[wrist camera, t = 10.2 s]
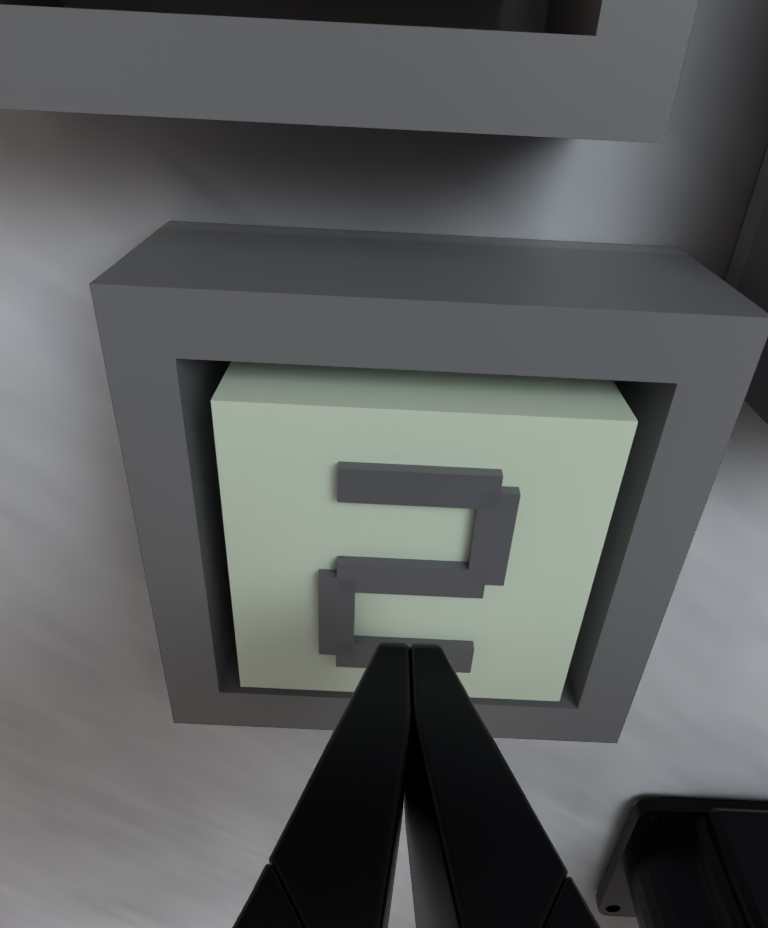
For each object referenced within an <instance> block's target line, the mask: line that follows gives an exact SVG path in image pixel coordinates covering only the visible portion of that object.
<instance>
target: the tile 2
mask: <svg viewBox="0 0 768 928" xmlns="http://www.w3.org/2000/svg"><path fill="white" fill-rule="evenodd" d="M211 409H212V419H213V428H214V438H215V447H216V457H217V466H218V476H219V486H220V495H221V505H222V514H223V524H224V533H225V543H226V552H227V562H228V572H229V581H230V591H231V600H232V610H233V619H234V629H235V639H236V648H237V658H238V667H239V677H240V686H241V687H259V688H280V689H302V690H324V691H345V692H354V691H355V689H356V687H357V685H358V683H359V681H360V679H361V677H362V675H363V673H364V671H365V669H366V667H367V665H368V663H369V661H370V659H371V657H372V655H373V653H374V651H375V649H376V647H377V646H378V645H379V643H381V642H404V643H407V644H408V646H409V649H410V646H411V645H412V644H413V643H426V644H438V645H439V646H440V647H441V648H442V649H443V651H444V652H445V654H446V656H447V658H448V659H449V661H450V663H451V665H452V667H453V668H454V670H455V672H456V674H457V675H458V677H459V679H460V681H461V683H462V684H463V686H464V688H465V690H466V691H467V693H468V695H469V697H475V698H497V699H518V700H540V701H560V698H561V694H562V691H563V687H564V683H565V680H566V676H567V673H568V669H569V666H570V662H571V659H572V655H573V651H574V648H575V644H576V641H577V637H578V634H579V630H580V627H581V623H582V620H583V616H584V612H585V609H586V605H587V602H588V598H589V595H590V591H591V588H592V584H593V581H594V577H595V573H596V570H597V566H598V563H599V559H600V556H601V552H602V549H603V545H604V541H605V538H606V534H607V531H608V527H609V524H610V520H611V517H612V513H613V510H614V506H615V502H616V499H617V495H618V492H619V488H620V485H621V481H622V478H623V474H624V471H625V467H626V463H627V460H628V456H629V453H630V449H631V446H632V442H633V439H634V435H635V431H636V428H637V424H638V420H637V419H636V417H635V415H634V414H633V412H632V411H631V409H630V407H629V406H628V404H627V403H626V401H625V399H624V398H623V396H622V395H621V393H620V391H619V390H618V388H617V387H616V385H615V383H614V382H613V380H599V379H578V378H558V377H538V376H518V375H498V374H477V373H457V372H437V371H417V370H397V369H377V368H356V367H336V366H316V365H296V364H276V363H255V362H235V361H231V363H230V365H229V366H228V368H227V370H226V372H225V374H224V376H223V378H222V380H221V382H220V384H219V385H218V387H217V389H216V391H215V393H214V395H213V397H212V399H211Z"/></svg>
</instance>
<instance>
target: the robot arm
mask: <svg viewBox="0 0 768 928" xmlns="http://www.w3.org/2000/svg"><path fill="white" fill-rule="evenodd" d="M403 804H404V809H405V823H406V834H407V844H408V853H409V863H410V873H411V883H412V892H413V902H414V912H415V922H416V928H600V926H599V925H598V923H597V921H596V919H595V918H594V916H593V914H592V913H591V911H590V909H589V908H588V906H587V904H586V902H585V901H584V899H583V897H582V895H581V893H580V892H579V890H578V888H577V886H576V885H575V883H574V881H573V879H572V878H571V877H566V876H567V873H568V872H567V869H566V867H565V866H564V864H563V862H562V860H561V858H560V857H559V855H558V853H557V851H556V850H555V848H554V846H553V844H552V842H551V841H550V839H549V837H548V835H547V834H546V832H545V830H544V828H543V826H542V825H541V823H540V821H539V819H538V818H537V816H536V814H535V812H534V810H533V809H532V807H531V805H530V803H529V802H528V800H527V798H526V796H525V794H524V793H523V791H522V789H521V787H520V786H519V784H518V782H517V780H516V778H515V777H514V775H513V773H512V771H511V770H510V768H509V766H508V764H507V763H506V761H505V759H504V757H503V755H502V754H501V752H500V750H499V748H498V747H497V745H496V743H495V741H494V739H493V738H492V736H491V734H490V732H489V731H488V729H487V727H486V725H485V723H484V722H483V720H482V718H481V716H480V715H479V713H478V711H477V709H476V707H475V706H474V704H473V702H472V700H471V699H470V697H469V695H468V693H467V691H466V690H465V688H464V686H463V684H462V683H461V681H460V679H459V677H458V675H457V674H456V672H455V670H454V668H453V667H452V665H451V663H450V661H449V659H448V658H447V656H446V654H445V652H444V651H443V649H442V648H441V647H440V646H439V645H438V644H426V643H413V644H412V645H411V646H410V649H409V646H408V644H407V643H404V642H381V643H379V645H378V646H377V647H376V649H375V651H374V653H373V655H372V657H371V659H370V661H369V663H368V665H367V667H366V669H365V671H364V673H363V675H362V677H361V679H360V681H359V683H358V685H357V687H356V689H355V691H354V693H353V695H352V697H351V699H350V701H349V702H348V704H347V706H346V708H345V710H344V712H343V714H342V716H341V718H340V720H339V722H338V724H337V726H336V728H335V730H334V732H333V734H332V736H331V738H330V740H329V742H328V744H327V746H326V748H325V750H324V752H323V754H322V756H321V758H320V759H319V761H318V763H317V765H316V767H315V769H314V771H313V773H312V775H311V777H310V779H309V781H308V783H307V785H306V787H305V789H304V791H303V793H302V795H301V797H300V799H299V801H298V803H297V805H296V807H295V809H294V811H293V813H292V815H291V817H290V818H289V820H288V822H287V824H286V826H285V828H284V830H283V832H282V834H281V836H280V838H279V840H278V842H277V844H276V846H275V848H274V850H273V852H272V854H271V856H270V858H269V864H267V865H265V867H264V869H263V871H262V873H261V875H260V877H259V879H258V881H257V883H256V884H255V886H254V888H253V890H252V892H251V894H250V896H249V898H248V900H247V902H246V904H245V905H244V907H243V909H242V911H241V913H240V914H239V916H238V918H237V920H236V922H235V924H234V925H233V927H232V928H388V923H389V915H390V908H391V900H392V893H393V885H394V877H395V870H396V862H397V854H398V847H399V839H400V831H401V823H402V813H403ZM596 902H597V906H598V910H599V912H600V913H601V914H604V915H609V916H629V917H637V921H638V924H639V928H768V803H757V802H735V801H713V800H691V799H669V798H647V799H644V800H641V801H639V802H637V803H636V804H635V806H634V807H633V810H632V812H631V814H630V817H629V819H628V822H627V824H626V826H625V829H624V831H623V833H622V836H621V838H620V840H619V843H618V845H617V847H616V850H615V852H614V854H613V857H612V859H611V861H610V864H609V866H608V868H607V871H606V873H605V875H604V878H603V880H602V882H601V885H600V887H599V889H598V892H597V894H596Z"/></svg>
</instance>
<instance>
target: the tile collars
mask: <svg viewBox="0 0 768 928" xmlns="http://www.w3.org/2000/svg"><path fill="white" fill-rule="evenodd" d="M698 1H699V0H0V109H16V110H35V111H55V112H74V113H93V114H112V115H131V116H151V117H170V118H189V119H208V120H228V121H247V122H266V123H285V124H305V125H324V126H343V127H362V128H381V129H401V130H420V131H439V132H458V133H478V134H497V135H516V136H535V137H555V138H574V139H593V140H612V141H631V142H651V143H664V140H665V136H666V132H667V128H668V124H669V120H670V116H671V112H672V108H673V103H674V99H675V95H676V91H677V87H678V83H679V79H680V75H681V71H682V66H683V62H684V58H685V54H686V50H687V46H688V42H689V38H690V34H691V29H692V25H693V21H694V17H695V13H696V9H697V5H698ZM90 289H91V294H92V299H93V305H94V310H95V315H96V320H97V325H98V331H99V336H100V341H101V346H102V351H103V357H104V362H105V367H106V372H107V377H108V383H109V388H110V393H111V398H112V403H113V408H114V414H115V419H116V424H117V429H118V434H119V440H120V445H121V450H122V455H123V460H124V466H125V471H126V476H127V481H128V486H129V492H130V497H131V502H132V507H133V512H134V518H135V523H136V528H137V533H138V538H139V544H140V549H141V554H142V559H143V564H144V570H145V575H146V580H147V585H148V590H149V596H150V601H151V606H152V611H153V616H154V621H155V627H156V632H157V637H158V642H159V647H160V653H161V658H162V663H163V668H164V673H165V679H166V684H167V689H168V694H169V699H170V705H171V710H172V715H173V720H174V723H189V724H211V725H232V726H254V727H276V728H298V729H320V730H335V728H336V726H337V724H338V722H339V720H340V718H341V716H342V714H343V712H344V710H345V708H346V706H347V704H348V702H349V701H350V699H351V697H352V695H353V693H354V692H345V691H324V690H302V689H280V688H259V687H241V686H240V677H239V667H238V658H237V648H236V639H235V629H234V619H233V610H232V600H231V591H230V581H229V572H228V562H227V552H226V543H225V533H224V524H223V514H222V505H221V495H220V486H219V476H218V466H217V457H216V447H215V438H214V428H213V419H212V409H211V399H212V397H213V395H214V393H215V391H216V389H217V387H218V385H219V384H220V382H221V380H222V378H223V376H224V374H225V372H226V370H227V368H228V366H229V365H230V363H231V361H235V362H255V363H276V364H296V365H316V366H336V367H356V368H377V369H397V370H417V371H437V372H457V373H477V374H498V375H518V376H538V377H558V378H578V379H599V380H613V382H614V383H615V385H616V387H617V388H618V390H619V391H620V393H621V395H622V396H623V398H624V399H625V401H626V403H627V404H628V406H629V407H630V409H631V411H632V412H633V414H634V415H635V417H636V419H637V420H638V424H637V428H636V431H635V435H634V439H633V442H632V446H631V449H630V453H629V456H628V460H627V463H626V467H625V471H624V474H623V478H622V481H621V485H620V488H619V492H618V495H617V499H616V502H615V506H614V510H613V513H612V517H611V520H610V524H609V527H608V531H607V534H606V538H605V541H604V545H603V549H602V552H601V556H600V559H599V563H598V566H597V570H596V573H595V577H594V581H593V584H592V588H591V591H590V595H589V598H588V602H587V605H586V609H585V612H584V616H583V620H582V623H581V627H580V630H579V634H578V637H577V641H576V644H575V648H574V651H573V655H572V659H571V662H570V666H569V669H568V673H567V676H566V680H565V683H564V687H563V691H562V694H561V698H560V701H540V700H518V699H497V698H475V697H470V699H471V700H472V702H473V704H474V706H475V707H476V709H477V711H478V713H479V715H480V716H481V718H482V720H483V722H484V723H485V725H486V727H487V729H488V731H489V732H490V734H491V736H492V737H494V738H516V739H538V740H559V741H581V742H603V743H617V742H618V739H619V736H620V734H621V731H622V728H623V725H624V723H625V720H626V717H627V715H628V712H629V709H630V707H631V704H632V701H633V699H634V696H635V693H636V690H637V688H638V685H639V682H640V680H641V677H642V674H643V672H644V669H645V666H646V663H647V661H648V658H649V655H650V653H651V650H652V647H653V645H654V642H655V639H656V636H657V634H658V631H659V628H660V626H661V623H662V620H663V618H664V615H665V612H666V609H667V607H668V604H669V601H670V599H671V596H672V593H673V591H674V588H675V585H676V583H677V580H678V577H679V574H680V572H681V569H682V566H683V564H684V561H685V558H686V556H687V553H688V550H689V547H690V545H691V542H692V539H693V537H694V534H695V531H696V529H697V526H698V523H699V520H700V518H701V515H702V512H703V510H704V507H705V504H706V502H707V499H708V496H709V493H710V491H711V488H712V485H713V483H714V480H715V477H716V475H717V472H718V469H719V466H720V464H721V461H722V458H723V456H724V453H725V450H726V448H727V445H728V442H729V440H730V437H731V434H732V431H733V429H734V426H735V423H736V421H737V418H738V415H739V413H740V410H741V407H742V404H743V402H744V400H745V401H746V402H747V403H748V404H749V406H750V407H751V408H752V409H753V410H754V411H755V412H756V413H757V414H758V415H759V416H760V417H761V418H762V419H763V420H764V421H765V422H766V423H767V424H768V147H767V150H766V153H765V156H764V160H763V163H762V166H761V169H760V172H759V175H758V178H757V182H756V185H755V188H754V191H753V194H752V197H751V200H750V203H749V207H748V210H747V213H746V216H745V219H744V222H743V225H742V228H741V232H740V235H739V238H738V241H737V244H736V247H735V250H734V254H733V257H732V260H731V263H730V266H729V269H728V272H727V275H726V279H725V281H724V280H722V279H721V278H720V277H718V276H717V275H716V274H714V273H713V272H712V271H710V270H709V269H708V268H706V267H705V266H703V265H702V264H701V263H699V262H698V261H697V260H695V259H694V258H693V257H691V256H690V255H689V254H687V253H686V252H685V251H683V250H682V249H681V248H679V247H670V246H650V245H631V244H611V243H591V242H572V241H552V240H532V239H513V238H493V237H474V236H454V235H434V234H415V233H395V232H375V231H356V230H336V229H317V228H297V227H277V226H258V225H238V224H218V223H199V222H179V221H169V222H168V223H166V224H165V225H164V226H163V227H161V228H160V229H159V230H157V231H156V232H155V233H154V234H152V235H151V236H150V237H148V238H147V239H146V240H145V241H143V242H142V243H141V244H140V245H138V246H137V247H136V248H134V249H133V250H132V251H131V252H129V253H128V254H127V255H126V256H124V257H123V258H122V259H120V260H119V261H118V262H117V263H115V264H114V265H113V266H111V267H110V268H109V269H108V270H106V271H105V272H104V273H103V274H101V275H100V276H99V277H97V278H96V279H95V280H94V281H92V282H91V283H90Z"/></svg>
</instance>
